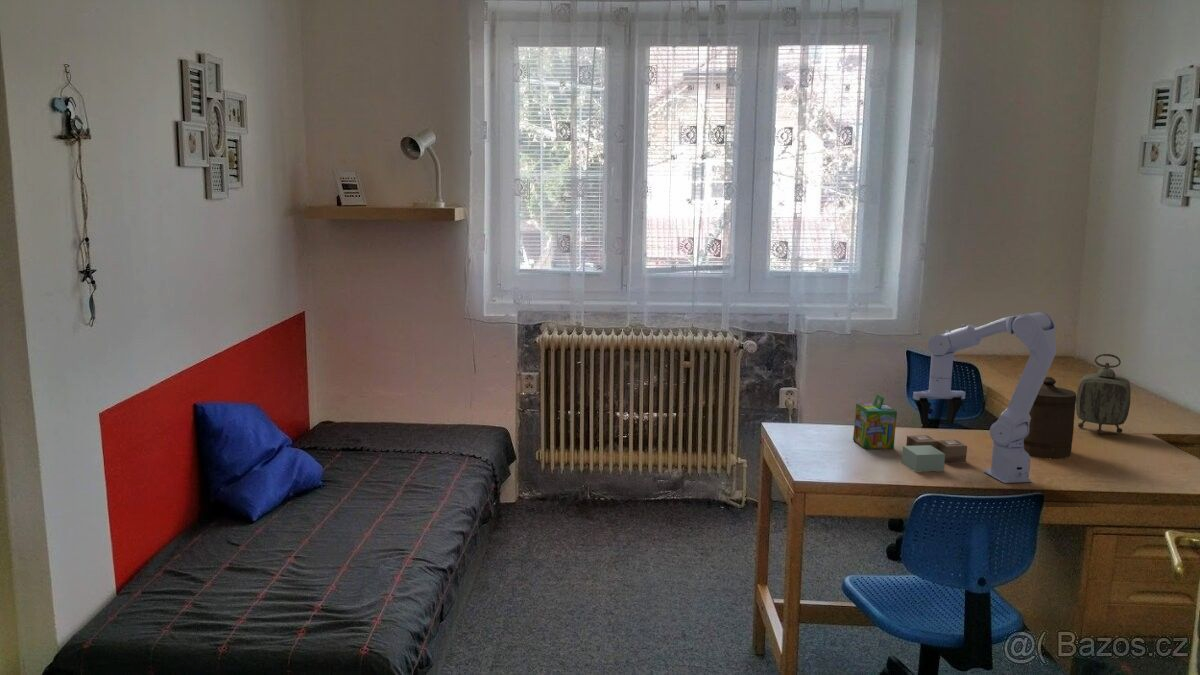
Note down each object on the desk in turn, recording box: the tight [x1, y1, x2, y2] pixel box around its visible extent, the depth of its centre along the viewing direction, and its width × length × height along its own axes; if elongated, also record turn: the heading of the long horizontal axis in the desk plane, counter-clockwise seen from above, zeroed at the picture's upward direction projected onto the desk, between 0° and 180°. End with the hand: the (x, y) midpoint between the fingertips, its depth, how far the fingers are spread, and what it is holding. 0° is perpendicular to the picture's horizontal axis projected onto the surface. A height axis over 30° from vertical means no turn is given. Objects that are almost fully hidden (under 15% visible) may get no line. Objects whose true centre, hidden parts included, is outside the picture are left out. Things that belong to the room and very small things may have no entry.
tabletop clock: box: [1075, 353, 1132, 435], centre depth 274 cm, size 14×9×25 cm, turn 59°
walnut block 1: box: [905, 434, 937, 449], centre depth 251 cm, size 6×6×5 cm
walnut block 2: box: [935, 439, 968, 464], centre depth 247 cm, size 6×6×5 cm
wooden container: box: [1023, 376, 1077, 460], centre depth 254 cm, size 15×15×22 cm
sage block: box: [901, 445, 945, 473], centre depth 240 cm, size 8×8×5 cm
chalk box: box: [852, 394, 898, 450], centre depth 259 cm, size 9×9×15 cm
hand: (936, 424), depth 248 cm, fingers open, 7 cm apart
